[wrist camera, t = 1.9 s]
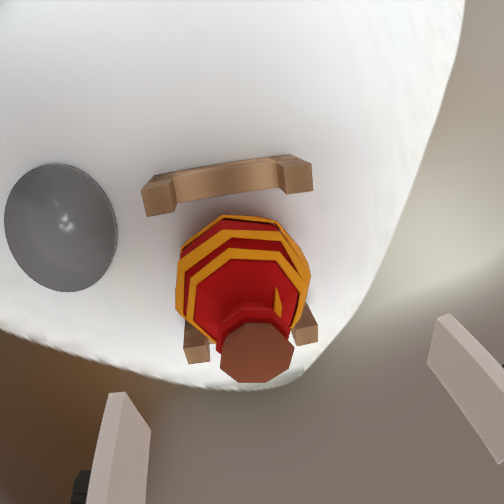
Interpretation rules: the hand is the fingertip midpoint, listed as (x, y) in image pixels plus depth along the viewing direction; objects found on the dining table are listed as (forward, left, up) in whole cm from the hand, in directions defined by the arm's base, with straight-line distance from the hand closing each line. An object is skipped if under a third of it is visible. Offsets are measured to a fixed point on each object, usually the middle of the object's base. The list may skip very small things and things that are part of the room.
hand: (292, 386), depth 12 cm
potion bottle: (-1, -2, -20) cm, 20 cm away
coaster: (-18, +3, -19) cm, 26 cm away
